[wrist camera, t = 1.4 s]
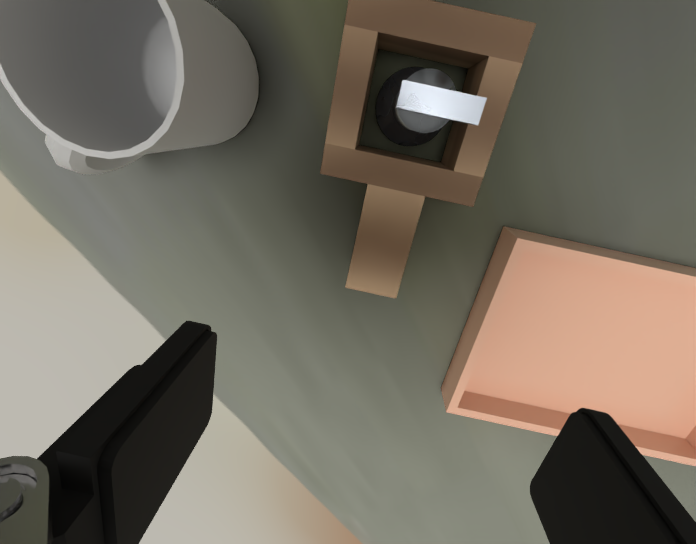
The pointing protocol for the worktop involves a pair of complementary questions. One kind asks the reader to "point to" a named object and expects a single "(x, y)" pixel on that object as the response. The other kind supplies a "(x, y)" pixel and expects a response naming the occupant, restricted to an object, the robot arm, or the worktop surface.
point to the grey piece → (423, 105)
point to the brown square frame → (403, 170)
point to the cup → (126, 77)
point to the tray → (580, 343)
